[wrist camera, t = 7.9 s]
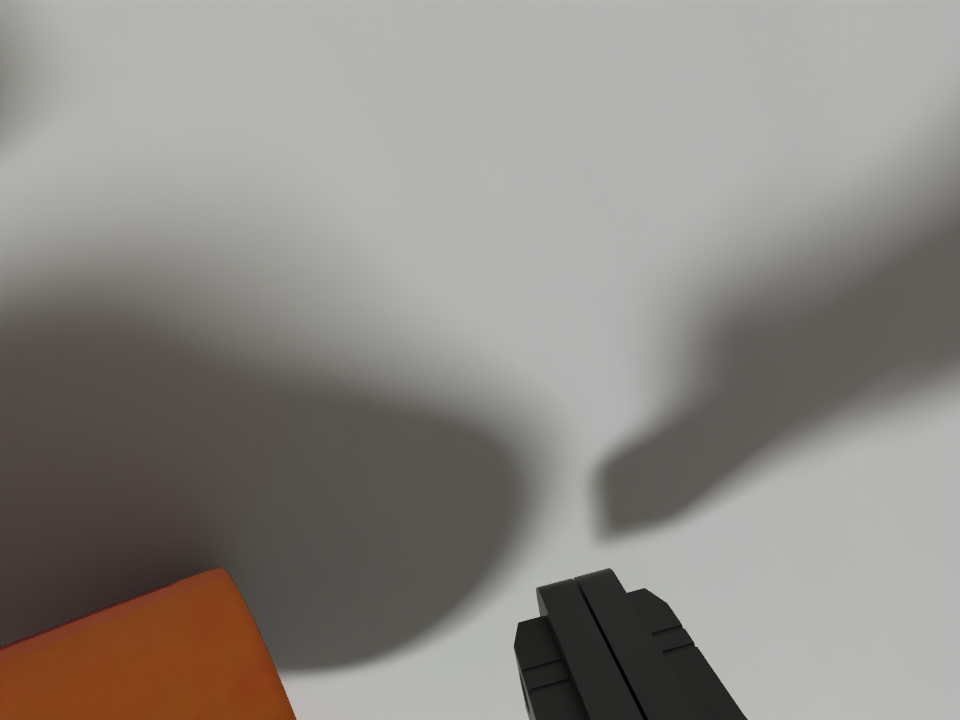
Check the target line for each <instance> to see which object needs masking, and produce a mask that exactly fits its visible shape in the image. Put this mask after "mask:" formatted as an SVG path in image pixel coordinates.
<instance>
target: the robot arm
mask: <svg viewBox="0 0 960 720" xmlns="http://www.w3.org/2000/svg"><path fill="white" fill-rule="evenodd" d="M536 593H537V600H538V605H539V611H540V617H538V618H534V619H530V620H527V621H523V622H519V623H518V627H517V632H516V637H515V643H514V650H515V655H516V660H517V665H518V670H519V675H520V680H521V685H522V690H523V695H524V700H525V705H526V709H527V713H528V716H529V720H748V719H747V718H746V717H745V716H744V714H743V713H742V712H741V710H740V709H739V707H738V706H737V704H736V703H735V701H734V700H733V698H732V697H731V696H730V694H729V693H728V691H727V690H726V688H725V687H724V685H723V684H722V682H721V681H720V679H719V678H718V677H717V675H716V674H715V672H714V671H713V669H712V668H711V666H710V665H709V663H708V662H707V661H706V659H705V658H704V656H703V655H702V653H701V652H700V650H699V649H698V647H695V644H694V642H693V640H692V639H691V637H690V636H689V634H688V633H687V631H686V630H685V629H683V627H682V624H681V623H680V621H679V620H678V618H677V617H676V615H675V614H674V612H673V611H672V610H671V608H670V607H669V605H668V604H667V603H666V602H664V601H663V600H661V599H660V598H659V597H657V596H656V595H654V594H653V593H651V592H650V591H648V590H647V589H645V588H643V589H640V590H636V591H632V592H629V593H626V591H625V590H624V588H623V586H622V585H621V583H620V581H619V580H618V578H617V577H616V575H615V573H614V572H613V571H612V569H610V568H608V569H605V570H601V571H597V572H593V573H590V574H586V575H582V576H578V577H575V578H574V580H573V579H568V580H564V581H560V582H557V583H553V584H549V585H545V586H542V587H538V588H536Z"/></svg>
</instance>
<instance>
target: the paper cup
mask: <svg viewBox="0 0 960 720" xmlns="http://www.w3.org/2000/svg"><path fill="white" fill-rule="evenodd" d="M0 720H296V717H295V715H294V712H293V710H292V707H291V705H290V702H289V700H288V697H287V695H286V692H285V690H284V687H283V685H282V683H281V680H280V678H279V675H278V673H277V671H276V668H275V666H274V664H273V661H272V659H271V657H270V654H269V652H268V650H267V648H266V645H265V643H264V641H263V639H262V637H261V634H260V632H259V630H258V628H257V626H256V624H255V622H254V620H253V617H252V615H251V613H250V611H249V609H248V607H247V605H246V603H245V601H244V599H243V598H242V596H241V594H240V592H239V590H238V588H237V587H236V585H235V583H234V582H233V580H232V578H231V577H230V575H229V574H228V573H227V571H226V570H225V569H224V568H222V567H220V568H216V569H212V570H208V571H205V572H202V573H199V574H197V575H194V576H191V577H188V578H185V579H182V580H179V581H176V582H173V583H170V584H167V585H165V586H162V587H159V588H157V589H154V590H151V591H149V592H146V593H143V594H140V595H138V596H135V597H132V598H130V599H127V600H124V601H122V602H119V603H116V604H113V605H111V606H108V607H105V608H103V609H100V610H97V611H94V612H92V613H89V614H87V615H84V616H81V617H79V618H76V619H74V620H71V621H68V622H66V623H63V624H60V625H58V626H55V627H53V628H50V629H47V630H45V631H42V632H40V633H37V634H34V635H32V636H29V637H27V638H24V639H21V640H19V641H16V642H13V643H11V644H8V645H6V646H3V647H0Z"/></svg>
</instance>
